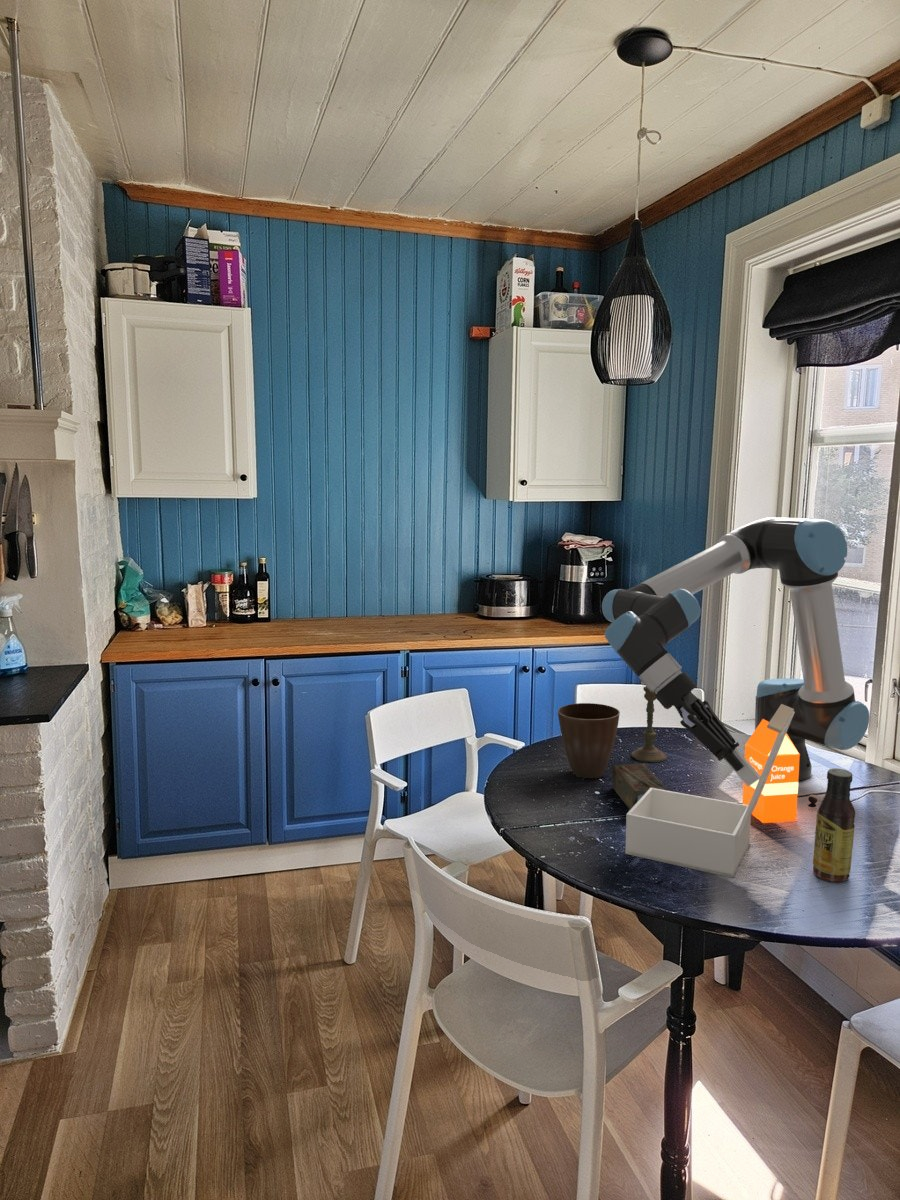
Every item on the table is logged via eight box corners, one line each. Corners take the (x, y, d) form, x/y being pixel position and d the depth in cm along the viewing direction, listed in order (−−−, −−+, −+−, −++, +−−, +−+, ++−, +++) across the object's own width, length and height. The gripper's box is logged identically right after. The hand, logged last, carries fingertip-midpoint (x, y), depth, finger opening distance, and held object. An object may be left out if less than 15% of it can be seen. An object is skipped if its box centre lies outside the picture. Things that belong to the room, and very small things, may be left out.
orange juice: (762, 823, 171) (767, 731, 168) (741, 807, 180) (745, 719, 177) (797, 820, 172) (802, 729, 170) (774, 804, 181) (778, 717, 178)
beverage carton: (635, 821, 173) (636, 791, 172) (610, 788, 192) (610, 761, 191) (672, 820, 174) (673, 790, 173) (643, 787, 193) (644, 760, 192)
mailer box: (625, 853, 157) (626, 814, 156) (649, 824, 171) (650, 787, 170) (733, 877, 147) (734, 835, 146) (749, 844, 161) (751, 805, 160)
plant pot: (577, 788, 191) (579, 722, 189) (545, 768, 205) (546, 706, 203) (630, 779, 197) (632, 714, 195) (596, 760, 211) (597, 700, 209)
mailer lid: (767, 725, 141) (782, 731, 140) (781, 703, 155) (796, 709, 154) (724, 829, 147) (739, 836, 145) (742, 799, 161) (756, 805, 160)
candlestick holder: (670, 762, 209) (674, 647, 205) (635, 762, 209) (638, 647, 205) (662, 751, 218) (665, 641, 214) (627, 751, 218) (630, 641, 214)
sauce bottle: (805, 868, 151) (811, 765, 148) (838, 867, 151) (844, 764, 148) (824, 885, 144) (831, 778, 141) (858, 884, 145) (865, 776, 142)
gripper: (663, 687, 164) (745, 782, 158) (644, 701, 153) (731, 803, 147) (691, 664, 161) (776, 760, 155) (673, 676, 150) (764, 781, 143)
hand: (754, 781), depth 151 cm, fingers closed
